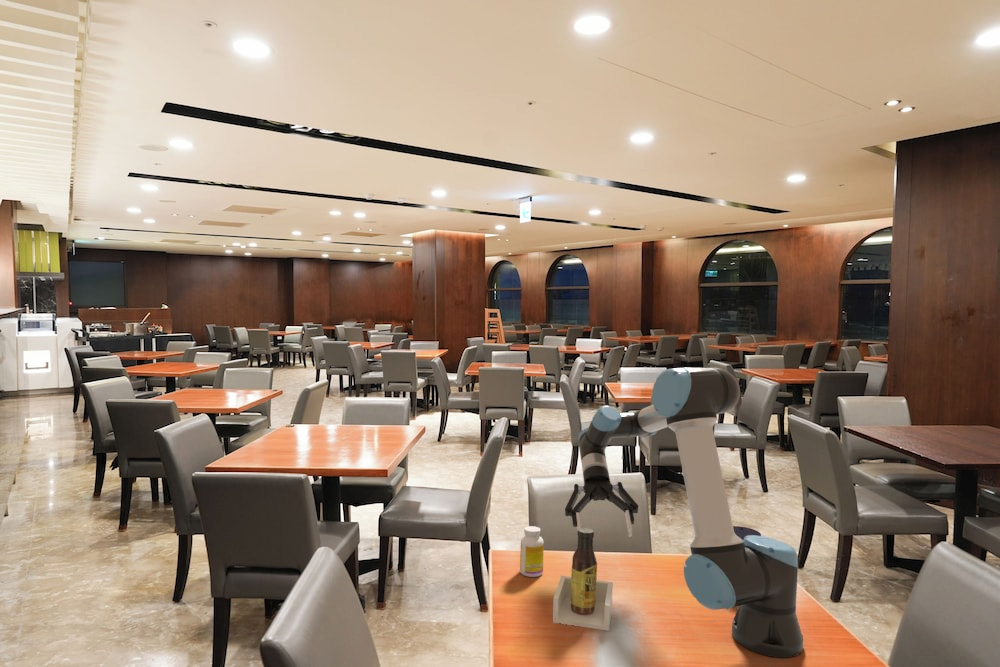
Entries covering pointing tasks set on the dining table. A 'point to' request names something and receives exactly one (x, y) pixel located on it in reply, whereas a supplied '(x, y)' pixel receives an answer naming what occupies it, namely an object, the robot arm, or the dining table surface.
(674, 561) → the dining table surface
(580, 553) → the sauce bottle
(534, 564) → the supplement bottle
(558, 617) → the bottle stand
